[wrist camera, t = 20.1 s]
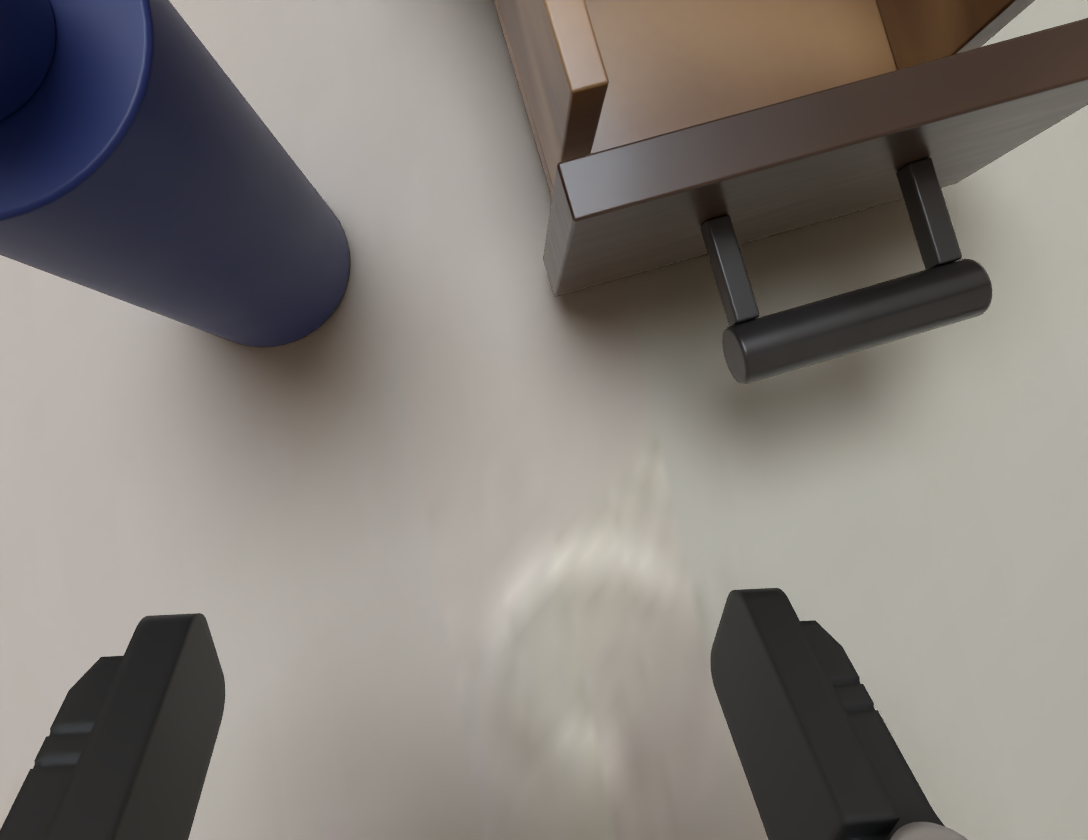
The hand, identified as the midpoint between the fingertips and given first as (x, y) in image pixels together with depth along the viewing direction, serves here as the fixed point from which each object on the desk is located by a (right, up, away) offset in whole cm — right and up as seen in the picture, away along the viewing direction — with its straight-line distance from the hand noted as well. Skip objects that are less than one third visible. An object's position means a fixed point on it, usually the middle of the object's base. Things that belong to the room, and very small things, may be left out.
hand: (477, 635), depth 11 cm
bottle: (-7, +8, +10) cm, 14 cm away
